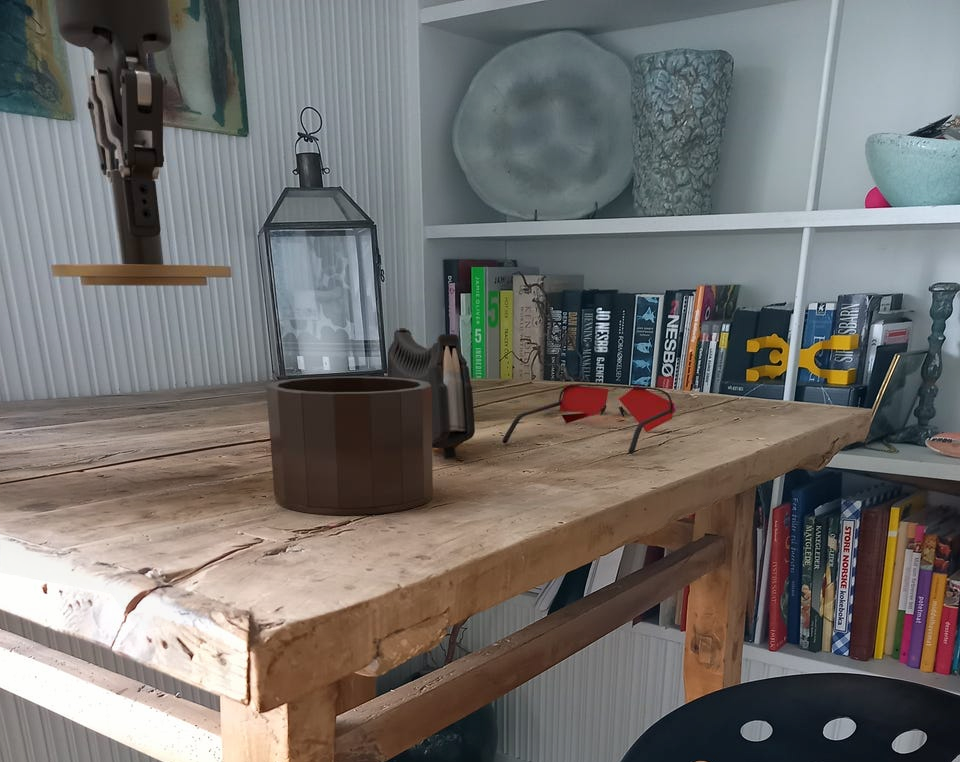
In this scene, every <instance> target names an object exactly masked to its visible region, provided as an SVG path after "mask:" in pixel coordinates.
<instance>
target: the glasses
mask: <svg viewBox="0 0 960 762" xmlns="http://www.w3.org/2000/svg"><path fill="white" fill-rule="evenodd" d="M609 388H618V389H619V388H620V389H630V390H629V391H627V392H626V393H624V394H623V395H621V396H620V397H619V398H618V400H619V402H620V403H621V404H622V405H623V406H624V407H623V406H622V405H621V406H618V409H619V412H620V414H621V416H622V417H623V418H625V416H627V415H628V414H627V412H626V410H627V411H628V413H630V414H631V416H632V417H633V418H634V419H635V421H636V422H637V423H638V424H637V426H636V428H635V430H634V433H633V435H632V439H631V442H630V445H629V448H628V454H629V455H634V453H635V451H636V447H637V443H638V441H639V437H640V435H641V431H642V429H643V430H644V431H645V432H646V433H648V432H650V431H651V430H654V429H656V428H657V427H659V426H661V425H663V424H665V423H667V422H668V421H671V420H672V419H673V415H674V414H675V413H676V410H677V408H676V406H675V403H674V402H673V401H672V398H671V396H670V394H669V393H668V392H667V391H665V390H664V389H661V388H656V387H650V386H640V385H638V384H637V385H634V386H629V385H614V384H613V385H611V384H600V383H597V384H595V383H572V384H564V387H563V388H562V389H561V391H560V393H559V396H558V401H557V402H553V403H551V404H547V405H544V406H541V407H538V408H534V409H531V410H528V411H524V412H522V413H519V414H518V415H517V416H516V417H515V418H514V420H513V421H512V423H511V424H510V426H509V427H508V429H507V431H506V433H505V434H504V436H503V438H502V439H501V440H502V443H503V444H507V443H508V441H509V440H510V438H511V436H512V434H513V433H514V431H515V429H516V427H517V426H518V424H519V422H520V421H521V420H522V419H523V418H524V417H527V416H529V415H532V414H536V413H539V412H543V411H546V410H550V409H552V408H556V407H559V409H558V411H559V412H570V413H565V414H560V416H561V417H562V419H563V421H564V422H565V424H570V423H573V422H576V421H579V420H582V419H586V418H589V417H592V416H595V415H599V414H600V416H602V415H603V414H604V413H605V412H606V409H607V407H608V406H607V402H608V395H609ZM651 390H652V391H656V392H661V393H663V394H664V395H665V396H667V398H668V399H666V398H665V397H662V396H660V395H658V394H656V393H655V392H652V391H651ZM624 408H625V409H626V410H625V409H624Z"/></svg>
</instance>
